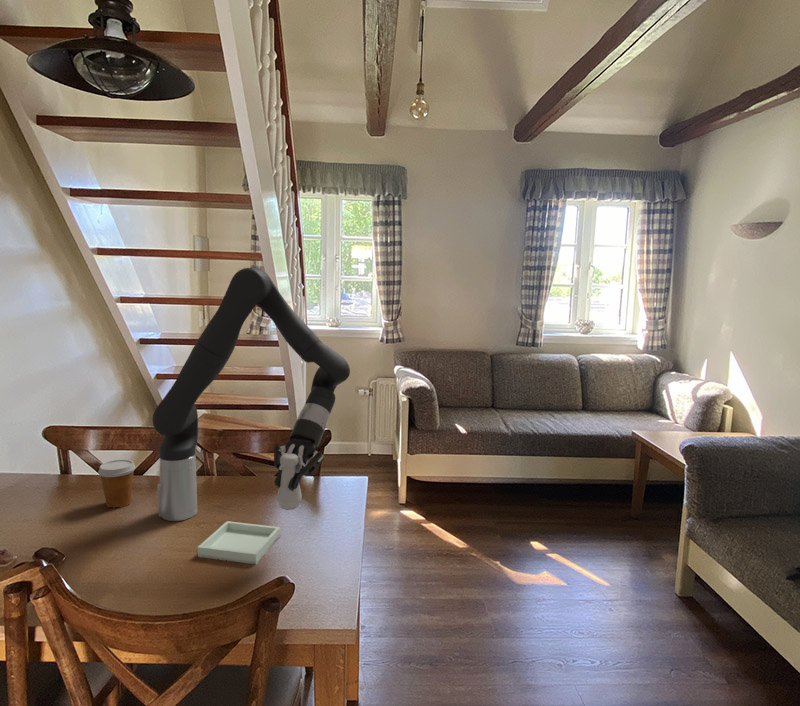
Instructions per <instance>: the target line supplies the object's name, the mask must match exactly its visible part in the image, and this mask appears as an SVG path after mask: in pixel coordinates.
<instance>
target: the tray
mask: <svg viewBox="0 0 800 706" xmlns="http://www.w3.org/2000/svg"><path fill="white" fill-rule="evenodd" d="M280 537H281V527H280V526H273V525H263V524H255V523H254V524H253V523H247V522H246V523H245V522H238V521H237V522H236V521H228V520H226V522H224V523H223V524H222V525H221V526H220V527H218V529H216V530H215V531H214V532H213V533H211V535H209V536H208V537H207V538H206V539H204V541H203V542H202V543H200V544H199V545H198V546H197V557H198V558H206V559H210V560H211V559H213V560H218V559H219V560H220V561H226V560H227V561H226V562H233V563H235V562H236V563H240V564H241V563H242V564H250V565H257V564H258V563H259V562H260V561H261V560H262V558H263V557H264V556H265V555H266V553H268V551H269V550H271V548H272V547H273V546H274V544H275V543H276V542H277V541H278V540H279V539H280Z"/></svg>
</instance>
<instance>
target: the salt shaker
mask: <svg viewBox="0 0 800 706" xmlns="http://www.w3.org/2000/svg"><path fill="white" fill-rule="evenodd" d="M280 464H281V466H283V469H282V474H281V482H280V488H278V490H277V498H276V499H277V503H278V505H279V507H280V508H281V509H282V510H285V511H292V510H296V509H297V508H298V507H299V505H300V503H301V501H302V497H303V496H302V490H301V486H300V485H301V484H300V483H299V484H298V487H297V488H296V489H294V491H291V490H289V488H288V485H289V483H290V480H291V478H292V477H294V474H295V473H296V472H295V470H296V466H297V464H298V456H297V455H296V454H292V453H288V454H286V453H284V455H282V456H281V457H280Z"/></svg>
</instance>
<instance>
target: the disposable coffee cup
mask: <svg viewBox="0 0 800 706" xmlns="http://www.w3.org/2000/svg"><path fill="white" fill-rule="evenodd" d="M135 469H136V465H135V463H134V461H132V460H130V459H113V460H109V461H105V462H103V463H102V464H101V465H99V469H98V471H97V472H98V474H99V476H100V480H101V485H102V491H103V495H104V499H105V504H106V507H107V506H108V507H107V508H109V507H113V508H112V509H116V508H115V507H120V508H124V507H127V506H128V504H129V505H130V504H131V502H132V493H133V481H134V472H135ZM126 505H127V506H126ZM123 506H124V507H123Z"/></svg>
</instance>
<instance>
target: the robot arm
mask: <svg viewBox="0 0 800 706" xmlns="http://www.w3.org/2000/svg"><path fill="white" fill-rule="evenodd" d="M256 306H257V307H258V308H260V309H261V310H262V311H263V312H264V313H265V314H266V315H267V316H268V317H269V319H270V320H271V321H272V322H273V323H274V325H275V326H276V328H277V329H278V332H279V333H280V335H281V336H282V338H284V340H285V342H286V343H287V344H288V345H289V347H291V349H293V351H294V352H295V353H296V354H297V355H298V356H299V358H301V360H303V361H304V362H305V363H314V364H315V365H317V366H319V367H318V368H317V370H316V372H315V374H314V375H313V379H312V383H311V386H310V387H311V389H310V392H309V394H308V396H307V399H306V401H305V403H304V406H303V407H302V409H301V411H300V412H299V414H298V417H297V420H296V421H295V424H294V426H293V428H292V430H291V433H290V435H289V439H288V441H287V442H286V443H285V444H284V445H282V446H280V445H278V444H276V445H275V446H274V448H273V450H274V451H273V466H274V467H275V469H276V470H277V471H278V472H277V474H276V477H275V479H274V485H275V488H277V489H279V488H280V482H281V474H282V469H283V466H281V464H280V457H281V456H282V455H284V454H288V453H292V454H296V455H297V456H298V464H297V465H296V470H295V472H296V473H295V474H294V477H292V478H291V480H290V483H289V485H288V488H289V490H291V491H294V489H296V488H297V487H298V484H300V481H301V480H302V478H303V477H305V476H307V477H310V476H311V475H312V474H313V473H314V471H316V469H317V468H318V467H319V466H320V465H321V464H322V463H323V462H324V461H325V457H324V455H323V453H321V452H320V451H318V447H319V445H320V443H321V442H322V441H321V440H322V438H323V435H324V432H325V431H326V428H327V425H328V423H329V418H330V416H331V413H332V411H333V408H334V405H335V402H336V395H335V390H336V388H337V387H338V386H339V385H340V384H342V383H343V382H345V381H347V380H348V379H349V377H350V373H351V368H350V365H349V364H348V362H347V359H345V358H344V357H343V356H342V355H340V353H338V352H336V351H335V350H333V349H332V348H331V347H329V346H328V345H326V344H325V343H323V342H322V340H321V339H320V338H319V337H318V336H317V334H315V333H314V331H313V330H312V329H311V328H310V327H309V326H308V325H307V324H306V323H305V322H304V321H303V319H302V318H301V317H300V316H299V315H298V314H297V313H296V311H295V310H294V309H292V307H291V306H290V305H289V302H287V301H286V299H285V298H284V296H282V294H281V293H280V291H279V289H278V288H277V287H276V285H275V284H274V282H273V281H272V279H271V277H270V276H269V274H268V273H267V272H266V271H265V270H264V269H262V268H260V267H256V266H255V267H244V268H241V269H239V270H238V271H236V273H234V275H233V276H232V278H231V280H230V282H229V285H228V287H227V289H226V291H225V294H224V296H223V298H222V300H221V303H220V305H219V306H218V309H217V310H216V312H215V313H214V315H213V317H211V319H210V321H209V322H208V324H207V325H206V327H205V328H204V329H203V331H202V333H201V334H200V336H199V338H198V339H197V341H196V343H195V344H194V346H193V348H192V349H191V351H190V353H189V355H188V357H187V359H186V361H185V363H184V364H183V365H182V368H181V369H180V371H179V374H178V375H177V377H176V379H175V381H174V383H173V384H172V386H171V388H170V389H169V390H168V392H167V393H166V394H165V395H164V397H163V398H162V400H161V401H160V402H159V403H158V405H157V407H156V408H155V410H154V411H153V414H152V425H153V428H154V429H155V431H156V432H157V433H158V434H159V435H162V436H164V437H163V441H162V443H161V444H160V446H159V449H158V451H159V452H158V453H159V470H160V471H159V473H160V474H159V475H160V482H159V483H157V486H156V487H157V507H158V517H159V518H162V519H163V520H165V521H171V522H179V521H185V520H188V519H190V518H193V517H194V516H196V515H197V514H198V492H197V491H198V490H197V461H196V460H197V459H196V448H197V445H198V440H199V439H198V438H199V417H198V416H199V414H198V410H197V406H196V402H197V400H198V399H199V397H200V396H201V395H202V393H203V392H204V391H205V390H206V389H207V388H208V387H209V386H210V385H211V383H212V382H214V380H215V379H216V378H217V377H218V376H219V375H220V373H221V372H222V371H223V369H224V367H226V364H227V363H228V361H229V359H230V358H231V356H232V354H233V352H234V349H235V348H236V345H237V343H238V339H239V337H240V332H241V329H242V328H243V325H244V323H245V322H246V320H247V318H248V317H249V315H250V314H251V312H252V311H253V310H254V309H255V307H256ZM308 461H309V462H308Z"/></svg>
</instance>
